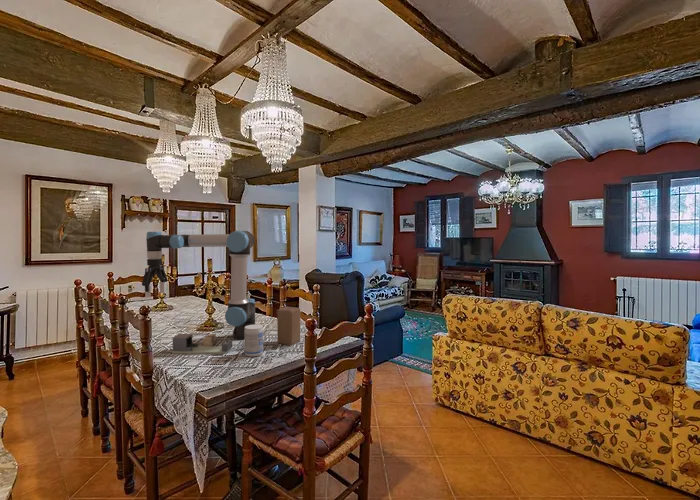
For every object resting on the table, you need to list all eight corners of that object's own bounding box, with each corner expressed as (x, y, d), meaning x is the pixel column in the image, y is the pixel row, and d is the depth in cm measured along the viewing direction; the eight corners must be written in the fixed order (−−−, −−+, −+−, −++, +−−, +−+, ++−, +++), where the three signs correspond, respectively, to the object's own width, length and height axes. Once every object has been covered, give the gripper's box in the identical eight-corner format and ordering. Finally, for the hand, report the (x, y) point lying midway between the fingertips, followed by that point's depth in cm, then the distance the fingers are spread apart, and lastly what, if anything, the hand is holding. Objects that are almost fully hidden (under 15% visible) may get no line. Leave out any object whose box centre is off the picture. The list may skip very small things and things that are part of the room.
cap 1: (197, 346, 197) (197, 334, 197) (191, 351, 190) (191, 338, 189) (179, 346, 197) (179, 333, 197) (172, 350, 190) (172, 337, 189)
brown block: (208, 342, 208) (208, 334, 207) (215, 342, 208) (215, 334, 207) (203, 347, 200) (203, 338, 199) (210, 347, 200) (210, 338, 199)
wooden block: (300, 341, 212) (300, 307, 211) (291, 346, 203) (291, 311, 201) (286, 338, 216) (286, 306, 215) (276, 343, 207) (276, 309, 206)
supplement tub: (263, 356, 186) (262, 328, 185) (243, 357, 184) (243, 329, 183) (263, 350, 195) (263, 323, 194) (245, 351, 193) (244, 324, 192)
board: (230, 348, 198) (230, 346, 198) (225, 353, 189) (225, 352, 189) (180, 347, 198) (180, 345, 198) (172, 353, 189) (172, 351, 189)
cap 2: (232, 346, 197) (232, 339, 197) (227, 351, 190) (227, 344, 189) (226, 346, 197) (226, 339, 197) (221, 351, 190) (221, 344, 189)
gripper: (161, 256, 218) (162, 291, 219) (133, 260, 193) (134, 299, 195) (173, 256, 218) (173, 291, 219) (147, 260, 193) (148, 299, 194)
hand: (155, 295), depth 207 cm, fingers open, 13 cm apart
